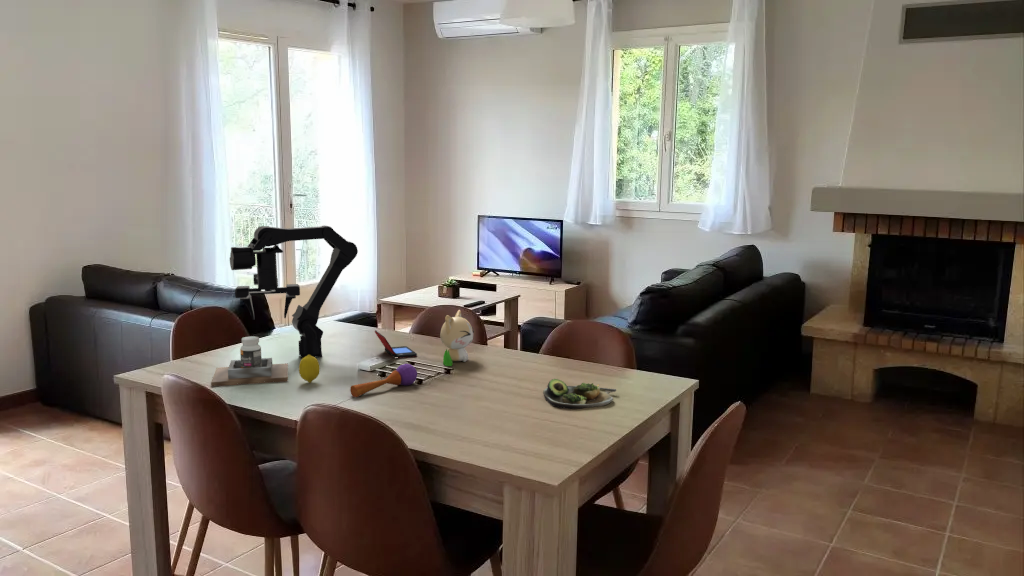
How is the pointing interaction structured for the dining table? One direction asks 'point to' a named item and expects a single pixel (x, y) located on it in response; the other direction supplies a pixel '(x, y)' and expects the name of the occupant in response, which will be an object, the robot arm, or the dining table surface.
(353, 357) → the dining table surface
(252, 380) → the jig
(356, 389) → the purple and orange maraca
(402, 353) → the handheld game console
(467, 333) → the kitten
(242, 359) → the pill bottle
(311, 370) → the lemon
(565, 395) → the salad plate
